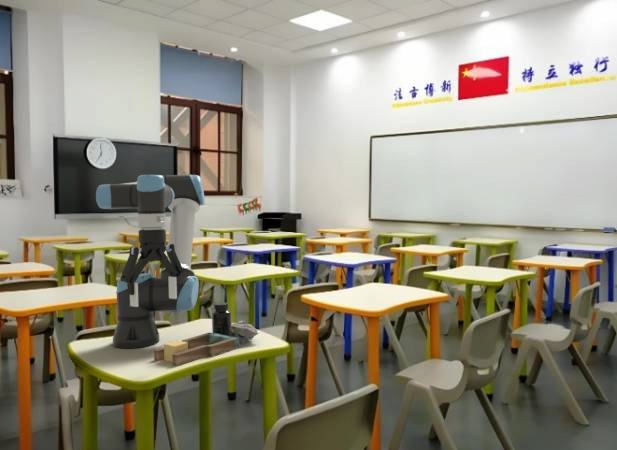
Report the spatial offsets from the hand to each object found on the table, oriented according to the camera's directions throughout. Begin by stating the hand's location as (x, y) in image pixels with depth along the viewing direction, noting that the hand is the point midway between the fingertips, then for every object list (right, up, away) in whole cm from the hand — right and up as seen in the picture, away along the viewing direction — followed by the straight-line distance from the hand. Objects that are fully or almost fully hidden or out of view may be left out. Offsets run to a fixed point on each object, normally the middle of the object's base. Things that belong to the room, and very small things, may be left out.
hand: (154, 302), depth 146 cm
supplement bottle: (+14, -17, +32) cm, 39 cm away
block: (+5, -18, +7) cm, 20 cm away
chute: (+9, -18, +13) cm, 24 cm away
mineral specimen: (+22, -18, +25) cm, 38 cm away
